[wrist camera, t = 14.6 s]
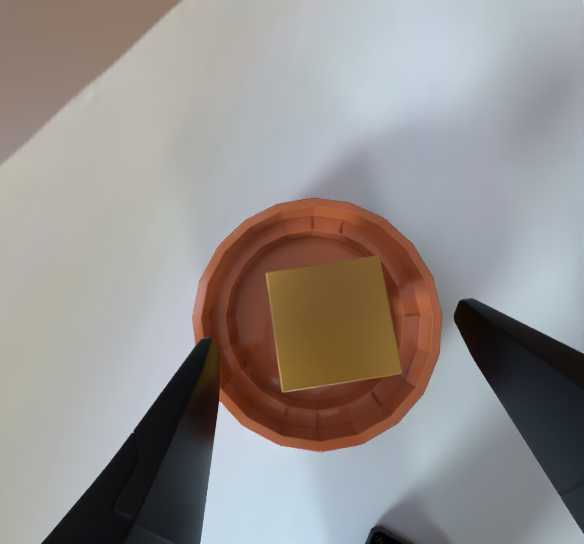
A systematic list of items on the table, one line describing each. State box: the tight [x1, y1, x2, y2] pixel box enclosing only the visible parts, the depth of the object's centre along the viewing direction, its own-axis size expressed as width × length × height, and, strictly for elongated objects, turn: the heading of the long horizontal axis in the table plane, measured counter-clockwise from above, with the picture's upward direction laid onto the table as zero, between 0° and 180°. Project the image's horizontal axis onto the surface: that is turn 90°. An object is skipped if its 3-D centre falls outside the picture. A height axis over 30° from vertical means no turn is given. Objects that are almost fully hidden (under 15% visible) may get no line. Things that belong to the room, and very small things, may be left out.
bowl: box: [192, 198, 442, 452], centre depth 19 cm, size 15×15×4 cm
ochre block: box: [266, 255, 403, 392], centre depth 15 cm, size 4×4×10 cm
